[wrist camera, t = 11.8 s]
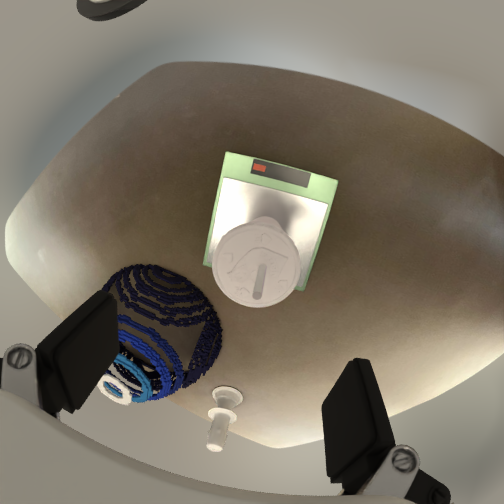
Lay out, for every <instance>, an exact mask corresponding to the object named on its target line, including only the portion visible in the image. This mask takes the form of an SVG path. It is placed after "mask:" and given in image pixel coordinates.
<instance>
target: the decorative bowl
mask: <svg viewBox="0 0 504 504" xmlns="http://www.w3.org/2000/svg"><path fill="white" fill-rule="evenodd" d="M131 269H133V277H134V279H135V280H136V284H135V286H136V288H137V290H139V292H140V293H142V294H144V295H146V296H148V297H149V296H153V297H155V298H157V299H156V300H157V301H159V302H161V303H164V304H166V305H171V304H172V305H174V303H177V302H178V303H180V302H190V303H193V301H199V299H200V300H202V298H203V299H204V301H203V302H202V305H201V303H200V304H199V306H198V305H194V306H190V308H189V307H187V308H186V307H182V308H179V307H177V308H176V307H174V308H173V307H172V308H169V307H167V306H165V307H164V308H162V307H160V304H157V303H155V302H153V301H151V300H149V299H147V298H144V297H142V296H141V297H138V296H137V295H138V293H137V291H136V290H135V288H132V286H131V285H132V284H131V282H129V281H130V278H128V277H129V274H130V271H131ZM140 269H142V274H143V275H144V276H143V277H144V278H145V280H147V281H148V283H150V284H151V285H152V286H154V287H156V288H158V289H161V290H163V291H165V292H167V293H168V292H173V293H175V292H176V293H178V292H179V293H180V292H182V293H183V292H186V291H188V292H189V291H192V289H193V290H195V291H193V293H191V292H190V294H189V295H181V296H180V295H178V296H177V295H175V294H174V295H172V294H171V295H169V294H167V293H164V292H162V291H160V292H159V291H157V290H155V289H153V287H151V286H149V285H147V284H145V282H144V280H142V278H141V276H140V274H141V272H140ZM149 269H151V270H152V273H153V275H155V276H156V277H157V278H159V279H161V280H163V281H166V282H168V283H170V284H178V283H179V284H181V282H185V284H186V285H187V287H186V288H180V289H177V288H175V289H174V288H170V289H169V288H166V287H164V286H162V285H160V284H157V283H155V282H153V281H154V280H151V278H150V276H148V270H149ZM163 271H164V272H166V273H169V274H171V275H173V276H176V277H175V278H174V277H170V278H169V277H167V276H165V275H163V273H162V272H163ZM122 274H123V281H124V287H125V288H127V292H129V293H130V298H131V300H133V301H135V302H137V301H139V302H141V303H143V304H145V305H147V306H149V307H151V308H153V309H156V310H158V311H160V314H162V315H165V316H166V315H168V316H174V317H176V314H177V313H178V314H180V313H181V314H183V315H184V314H187V315H188V316H189V315H192V313H193V312H196V310H197V311H198V312H201V310H204V309H205V307H206V306H207V307H210V308H209V310H208V309H207V310H206V312H204V311H203V313H202V315H199V316H198V315H196V316H195V315H194V316H193V317H190V318H189V317H188V318H186V317H185V318H180V319H179V321H178V320H176V321H175V320H174V318H172V317H170V318H169V317H167V319H164V318H162V319H160V318H158V317H156V314H153V313H151V312H149V311H147V310H145V309H143V308H141V307H139V305H138V304H136V303H134V302H131V303H130V302H128V301H129V298H128V296H126V294H125V293H124V294H123V290H124V289H123V288H121V285H122V284H121V282H120V280H121V279H122ZM115 280H116V284H115V285H116V287H117V291H118V294H119V296H120V301H121V302H123V301H124V302H125V307H126V308H128V309H129V308H132V309H134V311H135V312H137V313H139V314H141V315H143V316H145V317H147V318H149V319H152V320H154V319H155V320H157V321H159V322H160V324H162V325H164V326H166V325H168V326H169V325H170V323H171V324H173V325H174V324H175V326H177V327H179V326H180V327H181V326H184V327H186V326H187V327H189V326H190V325H195V324H196V325H197V324H198V323H201V321H202V322H204V321H206V323H205V325H204V328H203V330H205V331H202V332H201V335H200V337H199V340H198V342H197V345H196V347H195V350H194V353H193V355H192V358H193V360H194V361H195V362H194V363H192V362H193V360H192V359H191V361H190V363H189V366H188V369H190V370H189V372H188V371H186V372H184V370H182V368H183V365H181V363H182V362H181V361H180V359H178V358H179V356H178V355H177V353H175V352H176V351H174V349H173V348H172V346H170V345H168V342H167V340H165V339H163V338H161V336H160V335H159V333H157V332H155V329H153V328H151V327H149V328H147V327H145V326H143V325H141V324H139V323H137V322H135V321H133V320H131V318H130V317H128V316H126V315H124V314H123V315H121V314H119V315H117V318H118V322H119V323H121V324H122V323H125V324H127V325H129V326H131V327H133V328H135V329H137V330H139V331H141V332H143V333H145V334H147V335H149V336H150V338H152V339H151V340H152V341H154V342H156V343H158V344H157V347H160V348H162V349H163V351H165V354H167V355H166V356H168V358H169V359H170V361H169V362H171V363H173V368H174V372H169V371H168V370H169V368H167V366H166V365H165V363H166V362H164V360H163V359H161V358H160V354H157V353H156V351H155V350H152V347H150V346H148V345H149V344H147V343H145V342H143V341H142V339H140V338H138V337H136V336H134V335H132V334H130V333H128V332H126V331H125V330H123V329H122V330H119V329H118V334H119V346H120V350H119V354H118V356H117V357H116V359H115V360H114V361H113V365H114V367H115V368H116V369H117V372H119V373H120V375H121V376H123V378H125V379H127V381H129V382H131V383H133V384H135V385H137V386H139V387H141V388H142V389H141V390H143V392H142V391H139V390H136V389H134V388H132V387H130V386H128V385H126V384H125V383H124V382H122V381H120V379H118V378H117V377H116V376H115V375H113V374H112V373H111V371H110V370H107V371H106V373H107V374H106V373H105V374H104V375H103V377H102V378H101V379H100V381H99V382H98V384H97V385H98V388H100V391H101V392H102V393H103V394H104V395H106V396H107V397H108V398H110V399H111V400H113V401H115V402H117V403H121V404H123V405H129V402H130V403H131V402H132V401H133V402H138V403H139V402H145V401H147V400H157V399H158V400H159V398H164V396H166V397H167V396H168V395H170V394H173V393H175V391H178V388H181V385H182V384H183V385H182V388H186V387H188V386H189V385H191V384H192V383H193V384H194V383H196V381H197V379H199V378H200V376H201V373H203V376H205V373H206V371H208V370H209V368H210V367H212V365H213V363H214V360H215V358H216V359H217V356H218V354H219V352H220V349H221V347H222V346H221V342H222V340H221V337H222V335H221V332H222V330H223V329H221V327H220V323H219V322H220V320H218V319H219V318H217V316H216V313H217V312H215V311H213V310H214V309H212V307H213V305H210V302H208V300H207V298H206V297H204V295H203V294H202V293H203V292H201V291H199V290H200V289H198V288H195V287H194V286H195V285H193V284H191V282H190V281H188V280H186V278H185V277H183V276H180V275H178V274H175V273H173V272H171V271H168V270H166V269H164V268H162V267H159V266H157V265H154V266H153V265H151V264H149V265H147V266H145V265H142V264H140V265H138V264H136V265H135V266H133V265H131V266H129V267H127V268H126V267H124V270H123V269H121V270H120V271H119V272H116V273H115V274H114V275H113V276H111V278H110V279H109V280H108V281H107V283H106V284H105V285H104V287H103V288H102V290H103V291H105V292H108V291H109V290H110V287H111V286H112V284H113V283H114V282H115ZM128 287H129V289H128ZM149 292H150V293H149ZM158 296H160V298H158ZM126 302H127V303H126ZM166 310H169V311H170V313H169V312H167V311H166ZM210 311H211V312H210ZM209 313H210V314H209ZM211 314H212V315H213V317H212V316H211ZM208 316H209V317H210V319H209V320H207V318H208ZM192 318H193V319H192ZM213 320H216V321H215V323H213ZM189 321H191V323H189ZM181 322H183V324H181ZM208 327H211V328H208ZM206 328H207V330H206ZM214 330H216V332H215V331H214ZM217 333H218V334H219V335H218V337H217V340H216V343H215V345H214V348H213V350H212V353H211V355H210V358H209V361H208V363H207V365H205V363H206V361H207V358H208V355H209V353H210V350H211V348H212V345H213V342H214V340H215V337H216V335H217ZM206 337H207V338H206ZM126 340H127V341H129V342H131V345H133V348H135V349H137V350H139V351H138V352H140V353H142V354H144V355H145V357H147V358H149V359H151V360H150V362H151V363H152V365H154V366H156V368H155V367H153V366H151V365H148V364H146V363H144V362H143V361H142V360H140V359H138V358H136V357H134V355H133V354H132V353H130V352H129V351H128V350H127V349H125V346H123V344H122V343H121V341H122V342H124V343H125V342H126ZM210 340H212V342H211V341H210ZM204 342H205V343H204ZM201 344H204V345H201ZM197 349H198V350H199V351H197ZM202 349H204V351H203V350H202ZM122 352H123V353H124V354H123V355H122ZM125 352H127V353H125ZM125 354H127V355H126V356H125ZM199 355H200V356H199ZM132 357H133V361H131V360H130V359H131V358H132ZM198 358H201V359H200V361H198ZM199 363H201V365H198V364H199ZM116 364H118V365H119V366H118V365H116ZM122 365H124V368H123V366H122ZM143 365H144V366H146V367H148V368H150V369H152V370H154V371H152V372H147V371H145V370H144V368H143ZM193 365H195V369H192V368H193ZM202 365H203V366H202ZM119 367H120V368H119ZM120 369H122V370H120ZM125 369H126V370H125ZM126 371H127V372H126ZM123 372H124V373H123ZM175 372H176V373H175ZM183 372H184V373H183ZM184 374H185V375H184ZM172 375H173V377H172V378H171V376H172ZM176 376H177V378H176V379H174V377H176ZM132 377H133V378H132ZM134 378H135V379H134ZM158 378H161V379H159V380H158ZM150 379H151V380H150ZM152 379H156V380H155V381H154V380H152ZM171 379H172V380H171ZM173 379H174V381H173ZM109 382H110V383H111V384H112V385H113V386H114V387H116V388H117V389H118V390H120V391H122V392H123V394H122V393H120V392H118V390H116V389H115V388H113V387H111V386H110V385H109V384H108V383H109ZM172 384H173V386H171V385H172ZM104 385H105V386H104ZM157 385H158V386H157ZM106 387H107V388H109V390H111V391H112V392H113V393H115V394H116V395H118V396H119V397H118V396H116V395H113V394H112V393H110V392H108V390H107V389H106ZM159 389H160V393H159V392H158V393H157V394H153V390H156V391H159ZM130 391H132V392H134V393H131V392H130ZM135 393H139V394H141V396H139V395H137V394H135Z"/></svg>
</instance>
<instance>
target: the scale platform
mask: <svg viewBox="0 0 504 504" xmlns="http://www.w3.org/2000/svg"><path fill="white" fill-rule="evenodd" d="M327 208H328V203H326V202H323V201H319V200H316V199H312V198H309V197H305V196H302V195H298V194H294V193H291V192H287V191H283V190H280V189H276V188H272V187H268V186H264V185H260V184H256V183H252V182H248V181H243V180H239V179H235V178H230V177H223V182H222V187H221V191H220V196H219V200H218V205H217V210H216V215H215V220H214V225H213V230H212V235H211V240H210V245H209V250H208V256H207V262H208V263H211V264H212V260H213V255H214V252H215V249H216V247H217V245H218V243H219V241H220V240H221V238H222V237H223V236H224V235H225V234H226V233H227V232H228V231H229V230H230V229H232V228H234V227H236V226H238V225H239V224H243V223H248V222H251V221H253V220H254V219H256V218H258V217H262V216H267V217H271V218H273V219H275V220H276V221H277V222H278V223H279V224H280V226H281V228H282V230H283V231H284V232H286V234H287V235H288V236H289V237H290V238H291V239H292V240H293V241H294V243H295V245H296V247H297V249H298V252H299V256H300V276H299V279H298V282H297V284H296V286H299V287H302V286H303V283H304V281H305V278H306V275H307V272H308V269H309V266H310V263H311V260H312V257H313V254H314V250H315V247H316V244H317V241H318V238H319V235H320V231H321V228H322V225H323V222H324V218H325V215H326V212H327Z"/></svg>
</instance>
